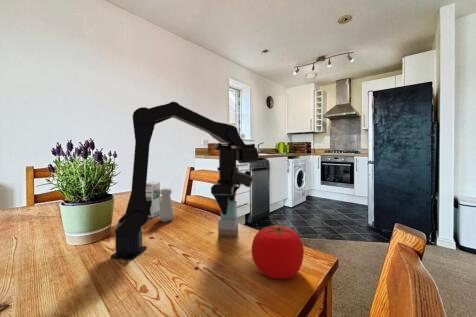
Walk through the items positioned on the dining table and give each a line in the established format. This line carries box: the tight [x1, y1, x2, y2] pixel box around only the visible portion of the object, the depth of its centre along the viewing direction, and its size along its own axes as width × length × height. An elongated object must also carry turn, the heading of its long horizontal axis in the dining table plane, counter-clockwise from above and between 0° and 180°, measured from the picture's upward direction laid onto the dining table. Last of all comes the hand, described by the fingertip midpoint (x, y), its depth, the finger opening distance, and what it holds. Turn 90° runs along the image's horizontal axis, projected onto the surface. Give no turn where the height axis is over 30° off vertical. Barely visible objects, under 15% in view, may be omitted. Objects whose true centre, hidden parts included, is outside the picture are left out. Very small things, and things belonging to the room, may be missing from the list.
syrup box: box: [146, 181, 161, 218], centre depth 90 cm, size 6×6×14 cm
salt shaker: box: [158, 187, 175, 223], centre depth 84 cm, size 6×6×13 cm
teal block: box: [220, 200, 238, 220], centre depth 69 cm, size 4×4×5 cm
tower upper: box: [217, 215, 239, 230], centre depth 69 cm, size 6×6×3 cm
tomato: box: [251, 224, 305, 280], centre depth 48 cm, size 12×12×10 cm
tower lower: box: [217, 224, 239, 239], centre depth 69 cm, size 6×6×3 cm
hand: (228, 210), depth 69 cm, fingers open, 9 cm apart
